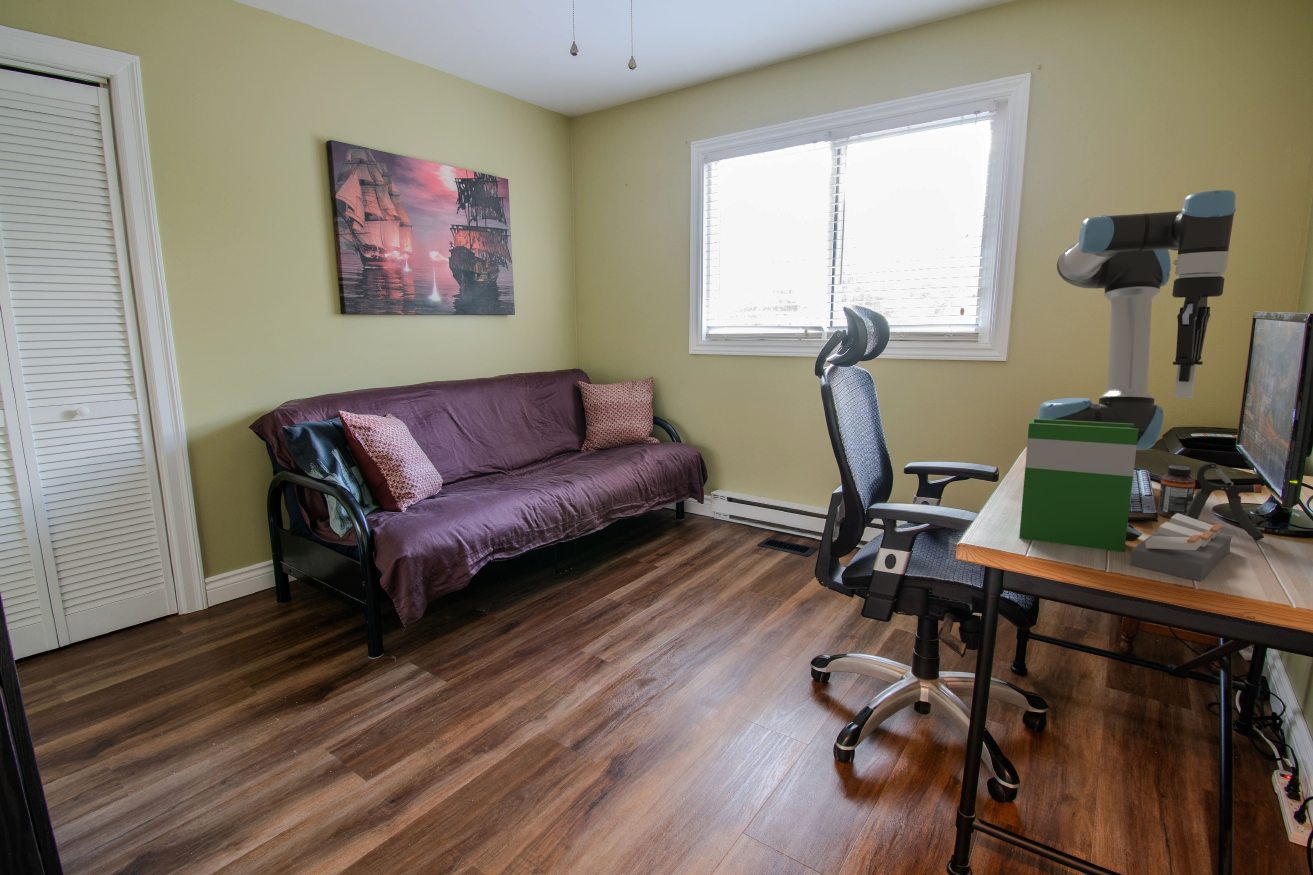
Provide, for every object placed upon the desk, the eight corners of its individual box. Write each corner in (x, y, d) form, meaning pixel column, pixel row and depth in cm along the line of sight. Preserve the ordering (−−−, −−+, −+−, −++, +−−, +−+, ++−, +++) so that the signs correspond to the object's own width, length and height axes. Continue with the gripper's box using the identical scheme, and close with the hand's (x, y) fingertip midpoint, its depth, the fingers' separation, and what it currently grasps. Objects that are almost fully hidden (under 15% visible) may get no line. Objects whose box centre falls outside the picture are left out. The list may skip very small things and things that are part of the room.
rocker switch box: (1171, 533, 133) (1173, 519, 132) (1235, 545, 125) (1237, 530, 125) (1130, 564, 116) (1132, 549, 116) (1200, 581, 109) (1203, 564, 108)
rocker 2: (1175, 518, 127) (1178, 510, 127) (1218, 533, 122) (1222, 525, 122) (1168, 522, 124) (1172, 515, 124) (1213, 538, 119) (1217, 530, 119)
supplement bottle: (1159, 510, 149) (1165, 463, 147) (1192, 515, 145) (1198, 466, 143) (1155, 516, 145) (1161, 467, 143) (1188, 521, 140) (1195, 471, 138)
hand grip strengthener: (1263, 543, 126) (1275, 469, 123) (1181, 531, 134) (1190, 462, 131) (1262, 540, 128) (1273, 467, 125) (1181, 529, 135) (1190, 460, 133)
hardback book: (1120, 540, 129) (1133, 423, 125) (1124, 552, 123) (1138, 429, 119) (1020, 528, 138) (1029, 418, 134) (1019, 538, 132) (1029, 423, 127)
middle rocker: (1164, 527, 123) (1166, 519, 122) (1210, 541, 117) (1213, 532, 117) (1157, 532, 120) (1160, 523, 119) (1204, 546, 115) (1207, 538, 114)
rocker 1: (1153, 542, 118) (1152, 533, 118) (1201, 544, 112) (1200, 534, 112) (1146, 547, 115) (1144, 538, 115) (1195, 550, 110) (1194, 540, 110)
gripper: (1183, 278, 130) (1168, 393, 135) (1165, 277, 122) (1150, 399, 126) (1232, 275, 124) (1215, 396, 129) (1216, 274, 116) (1198, 402, 121)
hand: (1183, 397), depth 128 cm, fingers closed
